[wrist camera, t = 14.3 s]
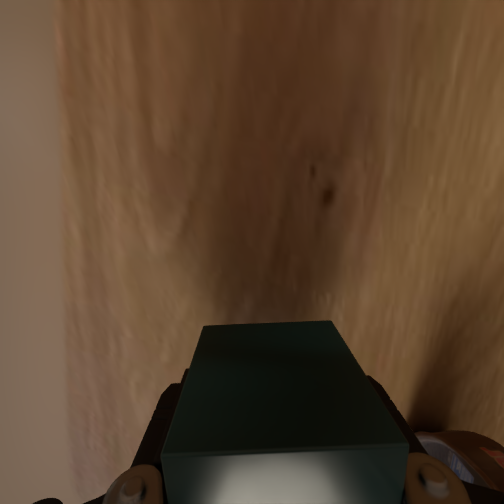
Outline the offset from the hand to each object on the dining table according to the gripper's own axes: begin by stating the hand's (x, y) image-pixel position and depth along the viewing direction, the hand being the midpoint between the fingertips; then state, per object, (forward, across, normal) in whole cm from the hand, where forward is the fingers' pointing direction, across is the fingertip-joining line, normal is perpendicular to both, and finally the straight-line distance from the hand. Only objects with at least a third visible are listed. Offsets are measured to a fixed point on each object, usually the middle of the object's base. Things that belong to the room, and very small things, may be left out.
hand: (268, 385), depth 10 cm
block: (0, 0, 0) cm, 0 cm away
